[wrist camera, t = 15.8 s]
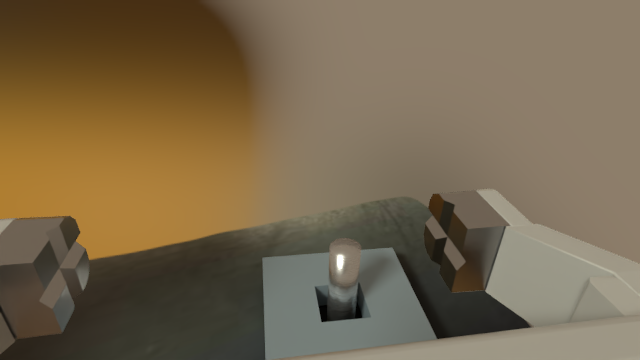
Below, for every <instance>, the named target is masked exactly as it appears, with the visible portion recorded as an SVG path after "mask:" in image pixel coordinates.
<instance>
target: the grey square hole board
mask: <svg viewBox="0 0 640 360" xmlns="http://www.w3.org/2000/svg"><path fill="white" fill-rule="evenodd" d="M329 255H330V253H317V254H304V255H290V256H277V257H264V258H263V290H264V323H265V356H266V360H270V359H278V358H286V357H295V356H303V355H311V354H319V353H328V352H336V351H344V350H352V349H361V348H369V347H377V346H385V345H394V344H402V343H410V342H418V341H426V340H435V339H437V338H436V336H435V334H434V332H433V329H432V327H431V325H430V323H429V321H428V319H427V317H426V315H425V313H424V311H423V309H422V307H421V305H420V303H419V301H418V299H417V297H416V295H415V293H414V291H413V289H412V287H411V285H410V283H409V281H408V279H407V277H406V275H405V273H404V271H403V268H402V266H401V264H400V262H399V260H398V258H397V256H396V254H395V252H394V250H393V248H383V249H369V250H361V257H360V268H359V279H358V290H357V301H356V302H358V305H359V308H360V311H361V315H362V318H360V319H350V320H340V321H330V322H321V317H320V312H319V307H318V306H324V305H327V300H328V277H329Z"/></svg>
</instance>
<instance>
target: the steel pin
mask: <svg viewBox="0 0 640 360" xmlns="http://www.w3.org/2000/svg"><path fill="white" fill-rule="evenodd" d="M360 257H361V246H360V244H359V243H358V242H356V241H355V240H352V239H348V238H340V239H336V240H334V241H333V242H332V243H331V244H330V255H329V277H328V300H327V322H330V321H340V320H350V319H355V312H356V301H357V290H358V279H359V268H360Z"/></svg>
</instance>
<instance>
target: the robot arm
mask: <svg viewBox="0 0 640 360" xmlns="http://www.w3.org/2000/svg"><path fill="white" fill-rule="evenodd" d="M428 209H429V211H430V212H431V214H432V215H433V216H432V217H431V218H430V219H429V220H428V221H427V222H426V223H425V229H424V244H425V248H426V251H427V254H428V255H429V257H430V259H431V260H432V261H434V262H435V263H437V264H439V265H440V271H439V274H440V275H441V277H442V278H443V280H444V282H445V283H446V285H447V286H448V288H449V290H450V291H451V293H454V292H467V291H480V290H486V292H487V293H488V294H489V295H491V296H492V297H494V298H495V299H496V300H498V301H499V302H501V303H502V304H504V305H505V306H506V307H508V308H509V309H511V310H512V311H513V312H515V313H516V314H518V315H519V316H520V317H522V318H523V319H525V320H526V321H528V322H529V323H530V324H532V325H533V326H535V327H533V328H525V329H516V330H508V331H500V332H492V333H484V334H475V335H467V336H459V337H451V338H443V339H435V340H426V341H418V342H410V343H402V344H394V345H385V346H377V347H369V348H361V349H352V350H344V351H336V352H328V353H319V354H311V355H303V356H295V357H286V358H278V359H270V360H640V264H639V263H636V262H633V261H631V260H629V259H626V258H624V257H621V256H619V255H616V254H613V253H611V252H608V251H606V250H603V249H601V248H598V247H596V246H593V245H591V244H588V243H586V242H583V241H581V240H578V239H576V238H573V237H571V236H568V235H566V234H563V233H561V232H558V231H556V230H553V229H551V228H548V227H545V226H543V225H540V224H532V223H531V222H530V221H529V220H528V219H527V218H526V217H524V216H523V215H522V214H521V213H520V212H519V211H518V210H517V209H516V208H515V207H514V206H513V205H511V204H510V203H509V202H508V201H507V200H506V199H505V198H504V197H503V196H502V195H500V193H498V192H497V191H496V190H493V189H481V190H472V191H462V192H450V193H440V194H433V195H432V197H431V199H430V202H429V207H428ZM79 234H80V231H79V228H78V225H77V223H76V220H75V219H74V218H72V217H71V216H58V217H36V218H19V219H17V218H11V219H0V354H1V353H2V352H3V351H5V350H6V349H7V348H8V347H9V346H10V345H12V344H13V343H14V342H15V339H20V338H28V337H36V336H44V335H51V334H59V333H63V331H64V329H65V327H66V325H67V323H68V321H69V319H70V317H71V315H72V313H73V311H74V309H75V306H74V303H73V300H72V299H73V298H75V297H76V296H77V295H79V294H80V293H82V292H83V290H84V288H85V286H86V284H87V282H88V275H89V269H90V268H89V258H88V255H87V252H86V249H85V248H84V247H82V246H81V245H80V244H78V243H77V242H76V239H77V237H78V235H79Z"/></svg>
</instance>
